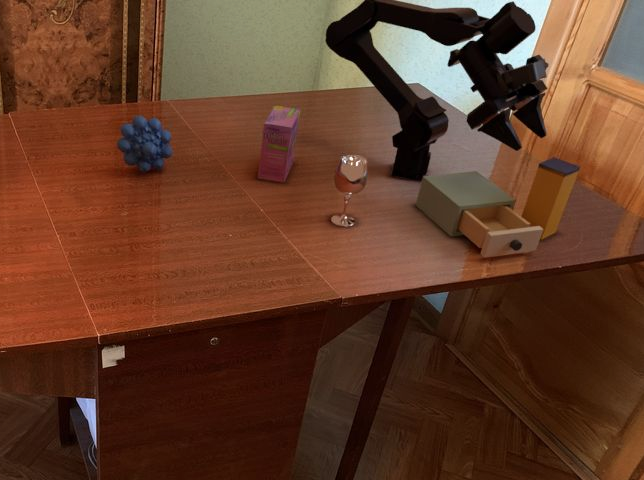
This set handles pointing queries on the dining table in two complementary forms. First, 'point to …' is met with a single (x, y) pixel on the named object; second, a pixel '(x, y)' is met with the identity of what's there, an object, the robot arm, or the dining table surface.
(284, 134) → the box
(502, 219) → the drawer
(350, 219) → the wineglass
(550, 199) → the carton
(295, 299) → the dining table surface
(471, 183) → the cabinet
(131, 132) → the blue knobby rounded piece
